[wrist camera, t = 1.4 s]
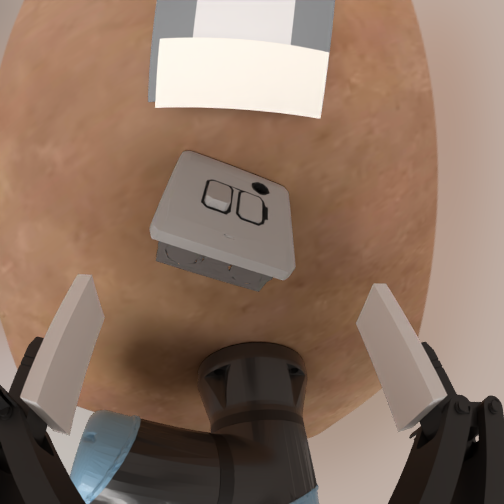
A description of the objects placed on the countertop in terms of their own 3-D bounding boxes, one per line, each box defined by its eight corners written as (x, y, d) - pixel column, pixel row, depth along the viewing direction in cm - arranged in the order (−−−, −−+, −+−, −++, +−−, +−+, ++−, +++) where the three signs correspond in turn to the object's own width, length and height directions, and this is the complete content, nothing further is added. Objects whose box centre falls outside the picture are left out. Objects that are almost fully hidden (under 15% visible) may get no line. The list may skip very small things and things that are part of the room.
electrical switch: (288, 186, 24) (311, 254, 17) (262, 232, 27) (272, 308, 20) (184, 146, 22) (154, 200, 14) (166, 199, 25) (137, 269, 17)
